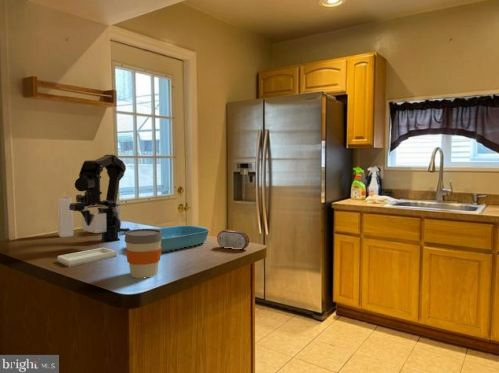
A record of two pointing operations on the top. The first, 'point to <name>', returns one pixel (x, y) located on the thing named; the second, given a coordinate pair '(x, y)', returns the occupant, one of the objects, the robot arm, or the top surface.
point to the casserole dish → (182, 236)
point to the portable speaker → (233, 239)
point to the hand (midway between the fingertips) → (94, 224)
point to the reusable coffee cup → (143, 251)
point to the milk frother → (119, 219)
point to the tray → (86, 256)
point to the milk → (64, 216)
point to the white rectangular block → (95, 222)
